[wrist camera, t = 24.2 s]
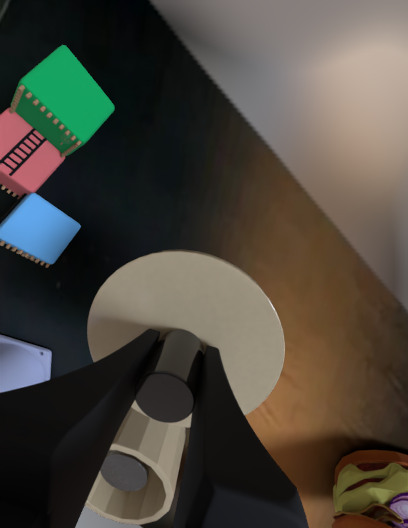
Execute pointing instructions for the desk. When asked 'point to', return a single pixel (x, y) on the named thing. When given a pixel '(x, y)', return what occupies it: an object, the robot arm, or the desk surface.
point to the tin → (124, 471)
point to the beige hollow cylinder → (160, 475)
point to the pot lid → (189, 329)
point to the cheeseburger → (371, 490)
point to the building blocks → (45, 150)
